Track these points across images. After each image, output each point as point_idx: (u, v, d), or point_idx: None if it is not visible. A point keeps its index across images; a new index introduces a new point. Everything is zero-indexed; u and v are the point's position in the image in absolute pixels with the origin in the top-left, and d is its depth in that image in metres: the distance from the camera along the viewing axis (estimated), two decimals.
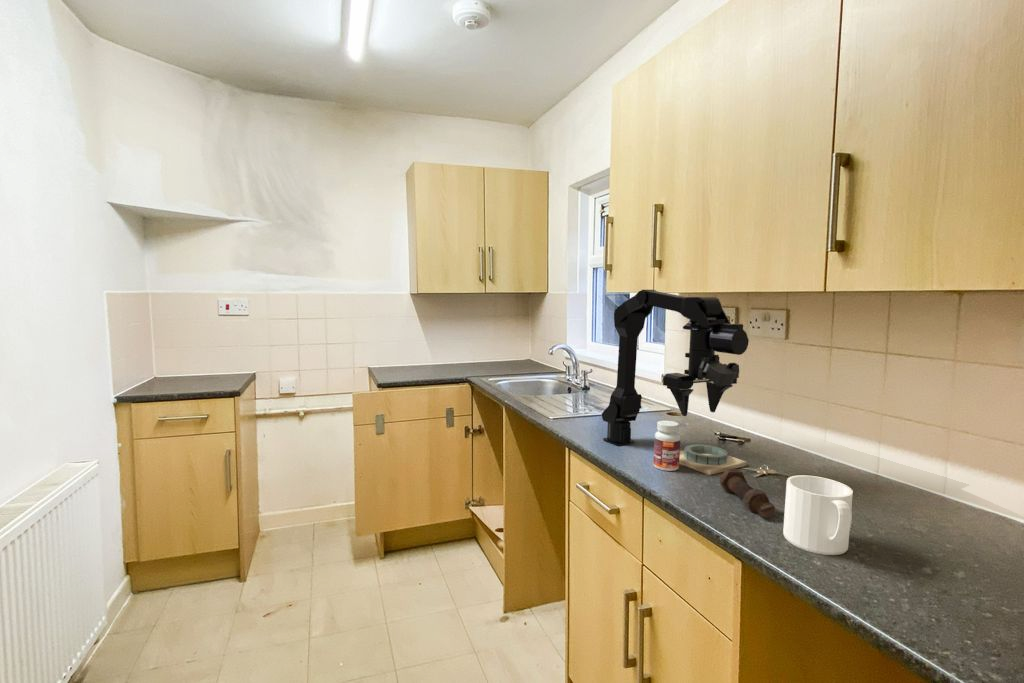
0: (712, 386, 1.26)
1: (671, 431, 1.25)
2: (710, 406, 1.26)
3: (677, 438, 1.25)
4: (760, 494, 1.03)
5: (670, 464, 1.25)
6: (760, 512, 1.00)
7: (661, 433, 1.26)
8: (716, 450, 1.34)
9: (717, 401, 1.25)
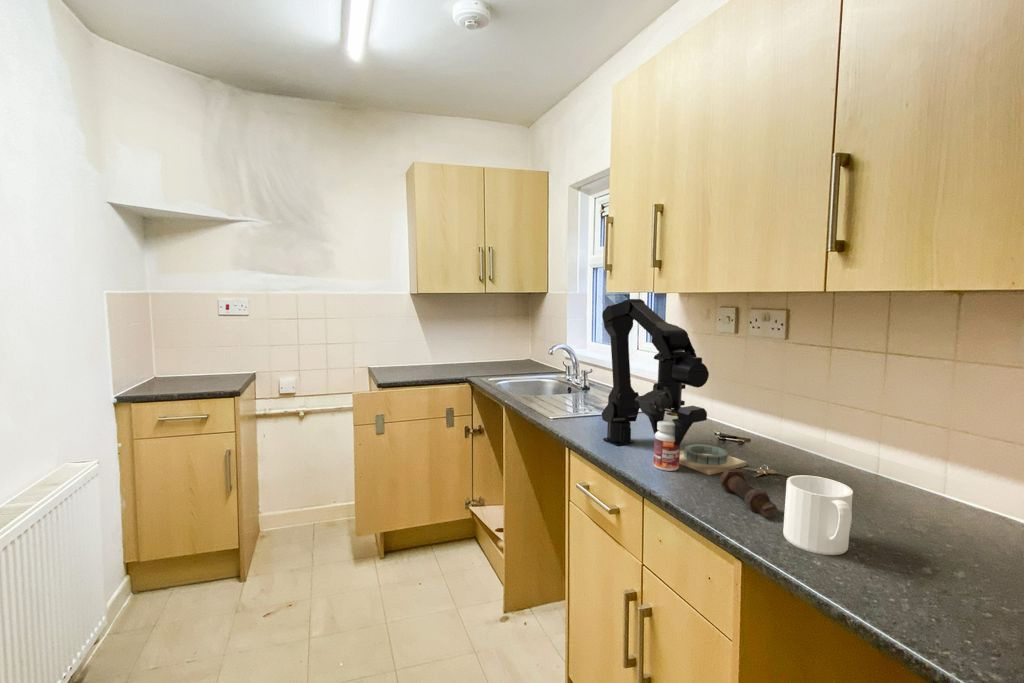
0: None
1: (671, 431, 1.25)
2: None
3: None
4: (761, 494, 1.03)
5: (670, 464, 1.25)
6: (762, 512, 1.00)
7: (661, 433, 1.26)
8: (716, 450, 1.34)
9: (676, 434, 1.24)
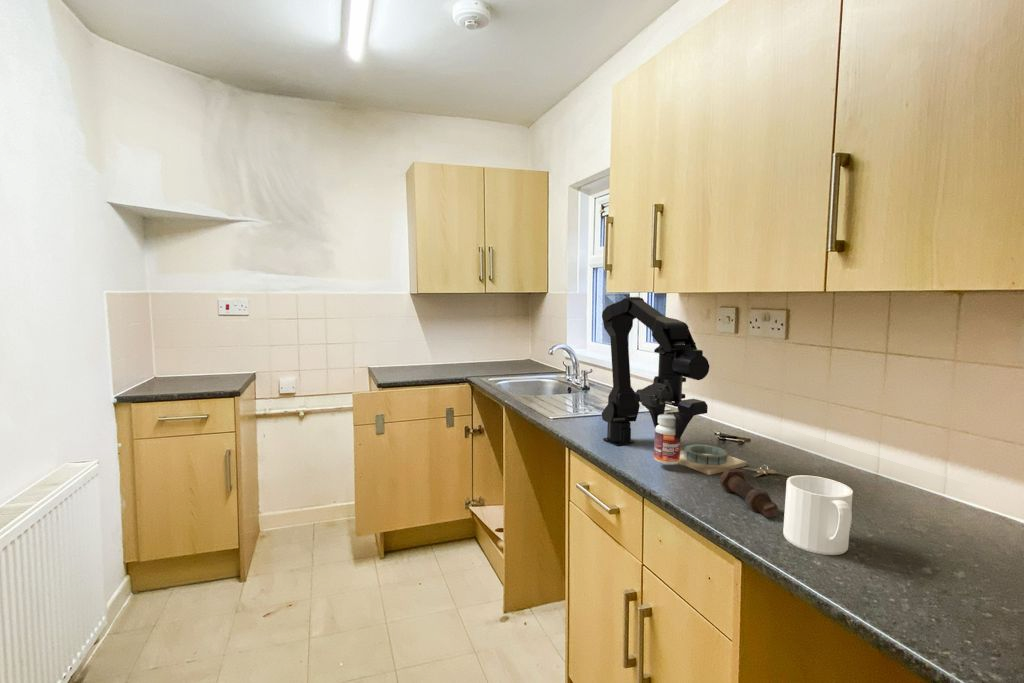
0: None
1: (672, 424, 1.25)
2: None
3: None
4: (762, 493, 1.03)
5: (670, 458, 1.25)
6: (763, 512, 1.00)
7: (662, 426, 1.26)
8: (716, 450, 1.34)
9: (676, 427, 1.24)
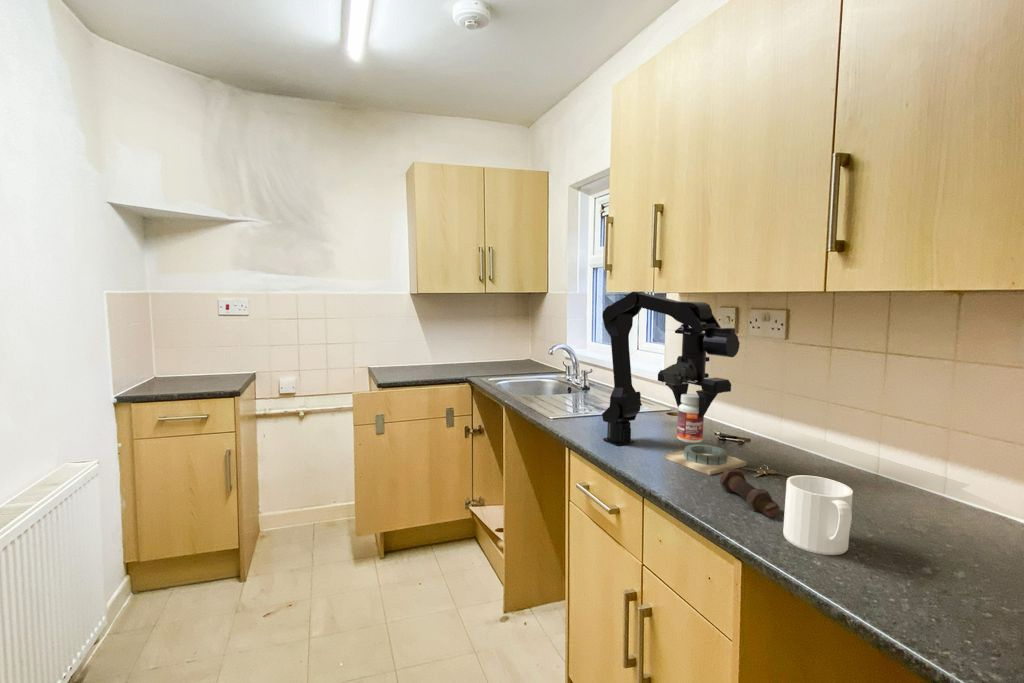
0: None
1: (695, 403, 1.27)
2: None
3: None
4: (763, 493, 1.03)
5: (693, 436, 1.27)
6: (765, 511, 1.00)
7: (685, 405, 1.28)
8: (716, 450, 1.34)
9: (700, 406, 1.25)
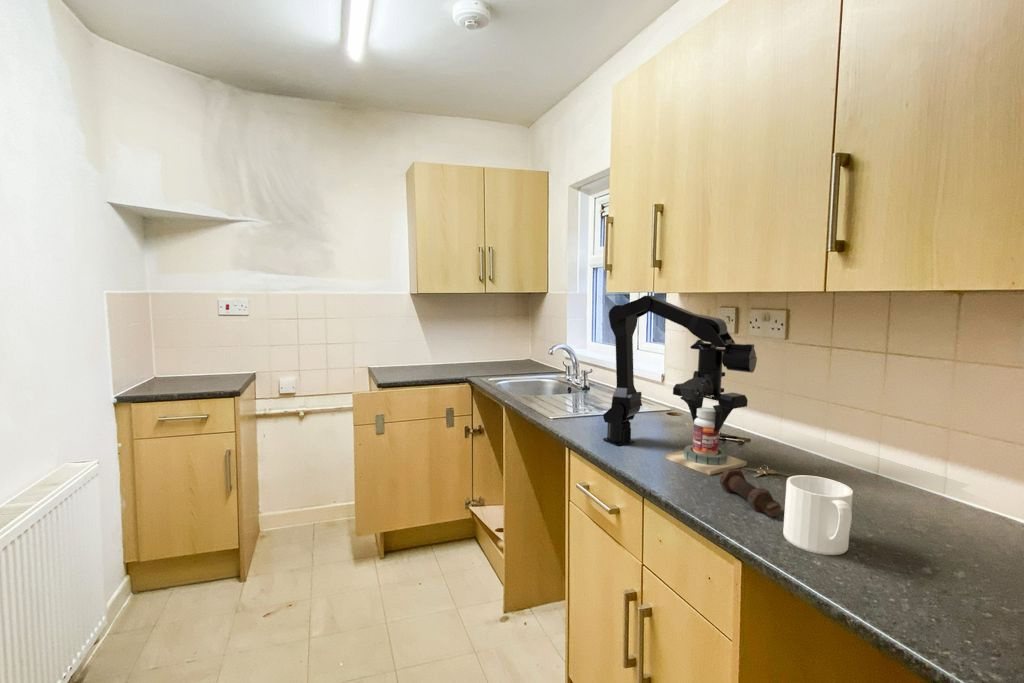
0: None
1: (711, 417, 1.29)
2: None
3: None
4: (765, 493, 1.03)
5: (709, 449, 1.29)
6: (767, 511, 1.00)
7: (701, 419, 1.30)
8: None
9: (716, 420, 1.28)
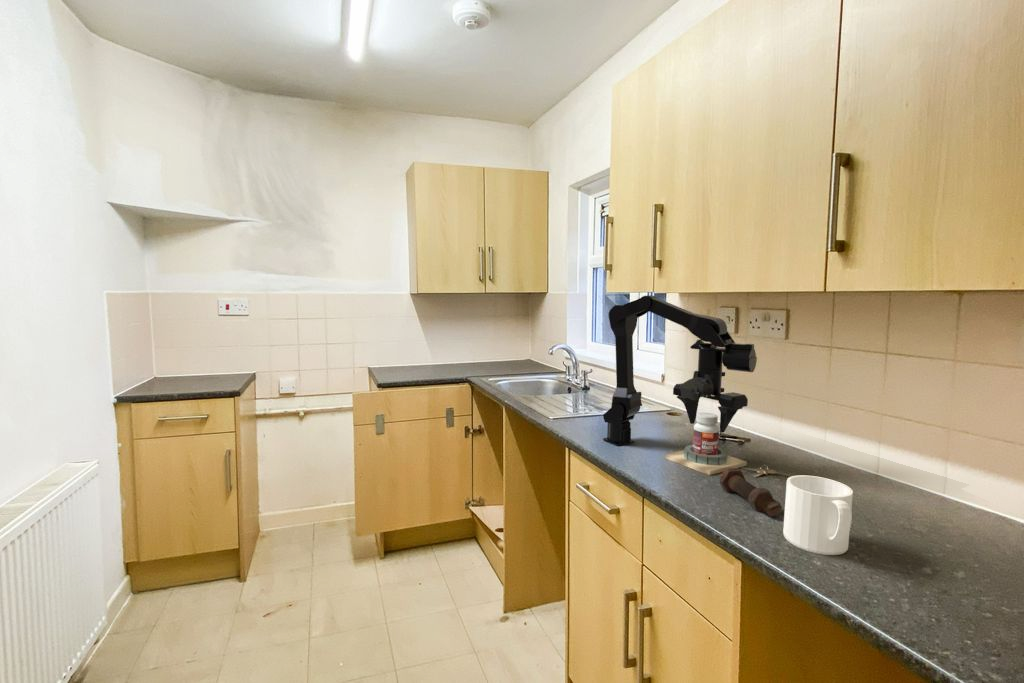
0: None
1: (711, 423, 1.29)
2: None
3: (716, 429, 1.29)
4: (765, 493, 1.03)
5: None
6: (767, 511, 1.00)
7: (700, 425, 1.31)
8: None
9: (721, 421, 1.27)
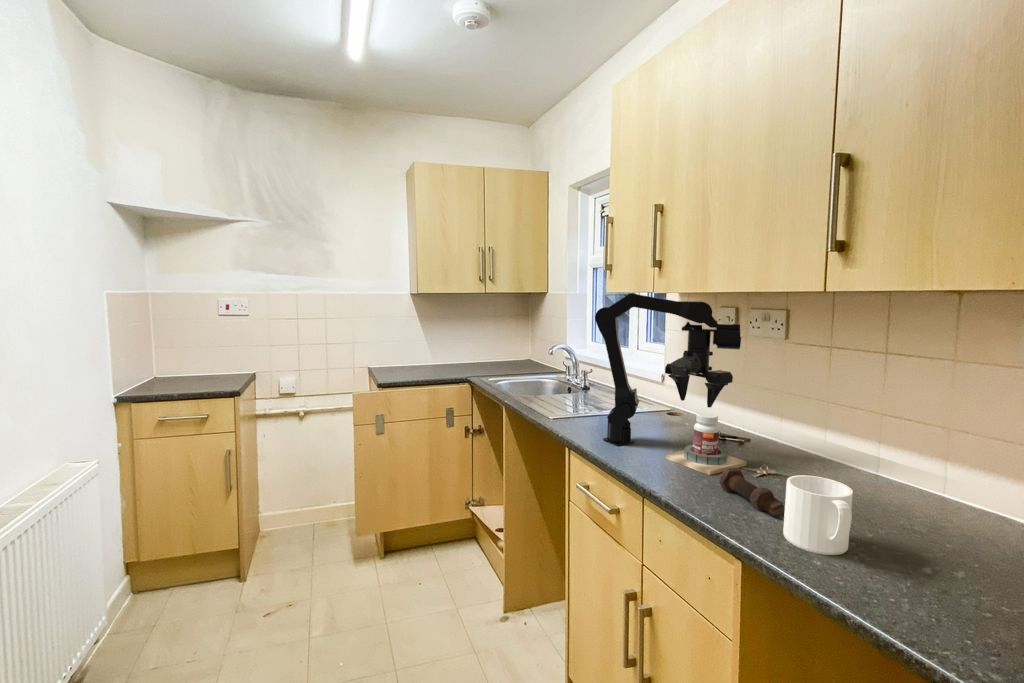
0: None
1: (711, 423, 1.29)
2: None
3: (716, 429, 1.29)
4: (767, 492, 1.03)
5: None
6: (770, 510, 1.00)
7: (701, 425, 1.31)
8: None
9: (708, 397, 1.37)
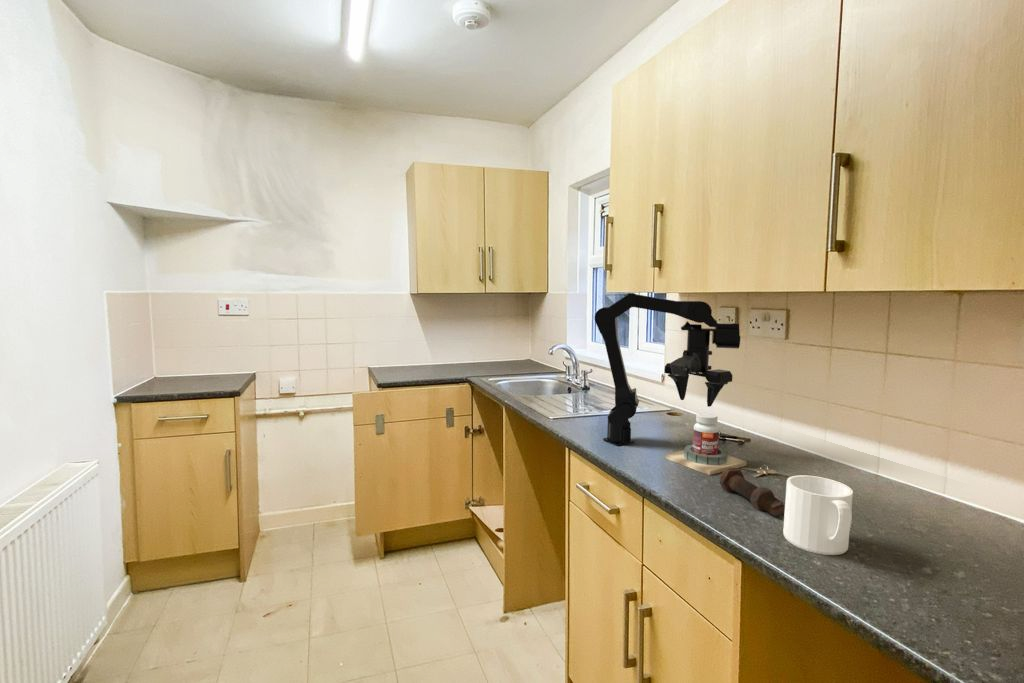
0: None
1: (710, 423, 1.29)
2: None
3: (716, 429, 1.29)
4: (767, 492, 1.04)
5: None
6: (771, 510, 1.01)
7: (700, 425, 1.31)
8: None
9: (708, 396, 1.37)
